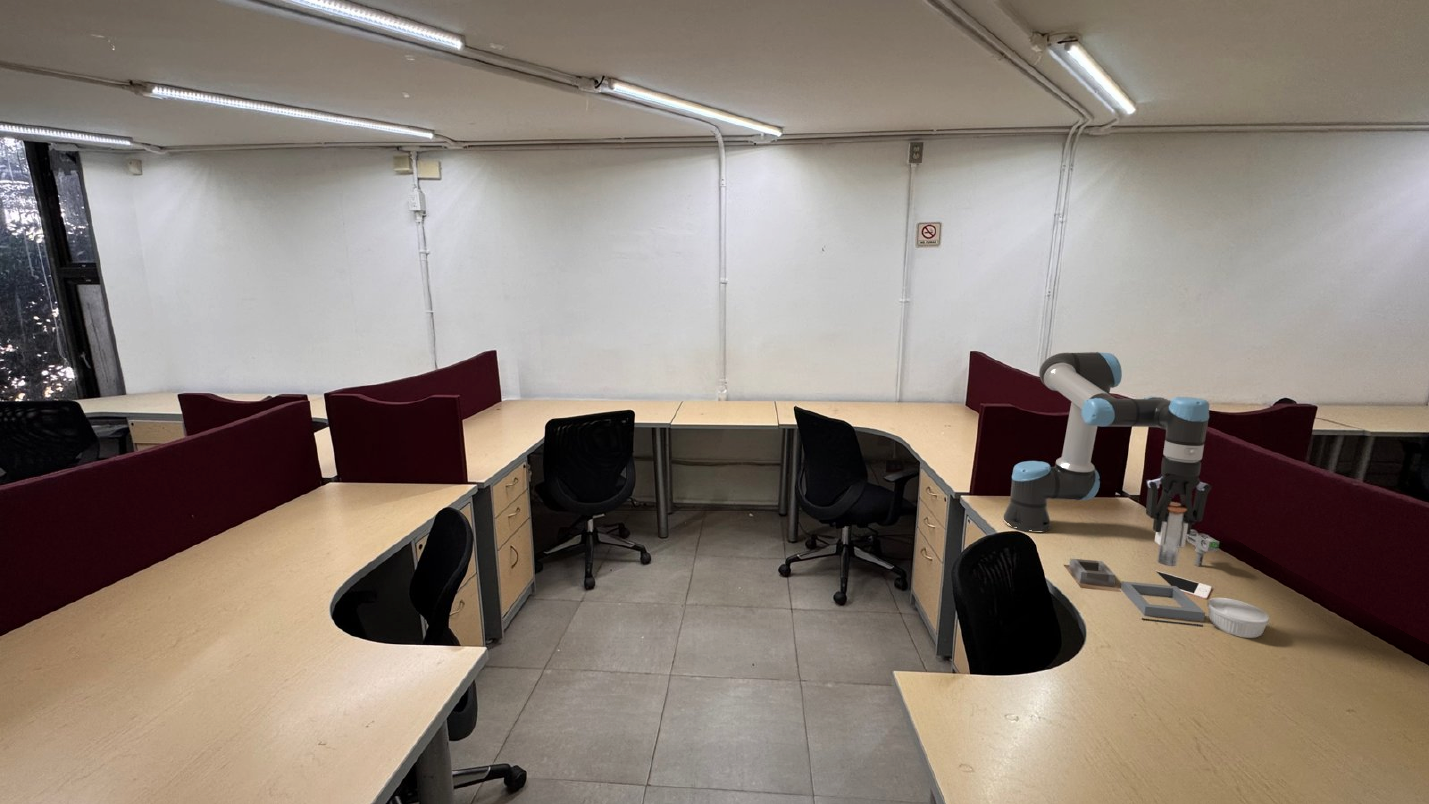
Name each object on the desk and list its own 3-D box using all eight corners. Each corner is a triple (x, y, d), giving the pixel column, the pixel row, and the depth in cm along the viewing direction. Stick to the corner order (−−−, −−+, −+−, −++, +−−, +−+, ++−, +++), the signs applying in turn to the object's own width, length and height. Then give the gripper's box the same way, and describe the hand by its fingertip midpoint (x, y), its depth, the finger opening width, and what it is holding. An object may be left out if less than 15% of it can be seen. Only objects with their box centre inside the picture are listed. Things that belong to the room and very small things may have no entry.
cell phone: (1206, 601, 150) (1206, 597, 149) (1126, 576, 163) (1127, 574, 163) (1211, 589, 155) (1212, 586, 155) (1134, 567, 169) (1134, 564, 168)
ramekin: (1194, 613, 144) (1197, 595, 143) (1243, 617, 141) (1247, 598, 140) (1224, 639, 133) (1227, 619, 132) (1278, 643, 131) (1282, 624, 130)
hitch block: (1062, 569, 168) (1064, 554, 167) (1099, 572, 165) (1101, 557, 164) (1080, 592, 154) (1082, 576, 153) (1120, 596, 152) (1122, 580, 151)
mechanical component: (1190, 557, 173) (1195, 528, 171) (1216, 573, 163) (1222, 543, 161) (1180, 557, 173) (1185, 528, 171) (1206, 573, 163) (1211, 542, 161)
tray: (1120, 594, 153) (1122, 581, 152) (1174, 599, 150) (1176, 586, 149) (1143, 620, 141) (1145, 606, 140) (1202, 626, 138) (1205, 612, 137)
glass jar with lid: (1150, 557, 146) (1158, 501, 143) (1172, 559, 144) (1180, 502, 141) (1160, 566, 141) (1168, 508, 138) (1183, 568, 140) (1192, 509, 137)
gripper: (1150, 461, 136) (1138, 547, 140) (1232, 464, 132) (1217, 553, 136) (1135, 452, 143) (1125, 535, 147) (1212, 456, 139) (1199, 540, 143)
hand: (1169, 544), depth 142 cm, fingers closed on glass jar with lid, 4 cm apart
